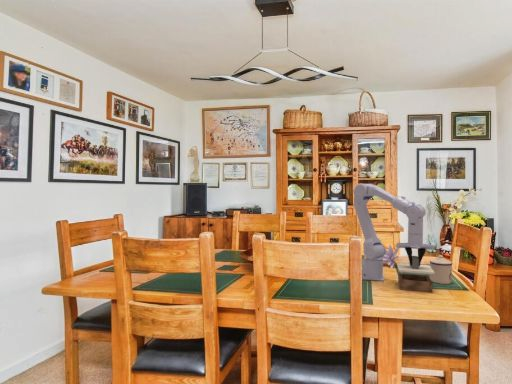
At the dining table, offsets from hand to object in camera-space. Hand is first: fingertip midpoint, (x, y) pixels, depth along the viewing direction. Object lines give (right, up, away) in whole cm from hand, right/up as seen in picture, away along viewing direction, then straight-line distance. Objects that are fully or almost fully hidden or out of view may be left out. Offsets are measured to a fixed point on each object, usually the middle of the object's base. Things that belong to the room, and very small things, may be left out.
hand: (414, 265), depth 151 cm
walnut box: (0, -9, 0) cm, 9 cm away
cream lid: (0, -2, 0) cm, 2 cm away
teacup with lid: (+16, -9, +11) cm, 21 cm away
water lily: (+4, -9, +41) cm, 42 cm away
